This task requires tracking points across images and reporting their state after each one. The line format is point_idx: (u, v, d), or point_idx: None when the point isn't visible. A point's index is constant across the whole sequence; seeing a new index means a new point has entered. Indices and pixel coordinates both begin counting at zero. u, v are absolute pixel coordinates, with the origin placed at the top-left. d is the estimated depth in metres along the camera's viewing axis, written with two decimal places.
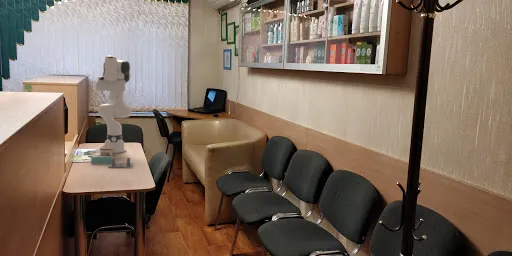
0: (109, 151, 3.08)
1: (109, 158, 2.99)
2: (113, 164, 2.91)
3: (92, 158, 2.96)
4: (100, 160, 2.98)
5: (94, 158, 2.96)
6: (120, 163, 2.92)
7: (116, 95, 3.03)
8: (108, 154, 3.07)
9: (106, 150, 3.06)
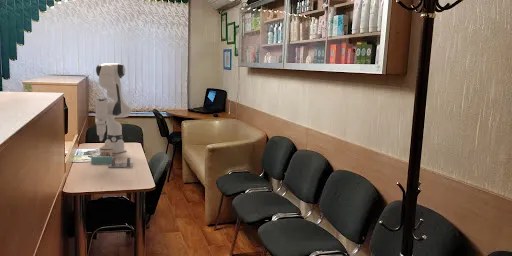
0: (109, 151, 3.08)
1: (109, 158, 2.99)
2: (113, 164, 2.91)
3: (92, 158, 2.96)
4: (100, 160, 2.98)
5: (94, 158, 2.96)
6: (120, 163, 2.92)
7: (103, 136, 3.00)
8: (108, 154, 3.07)
9: (106, 150, 3.06)
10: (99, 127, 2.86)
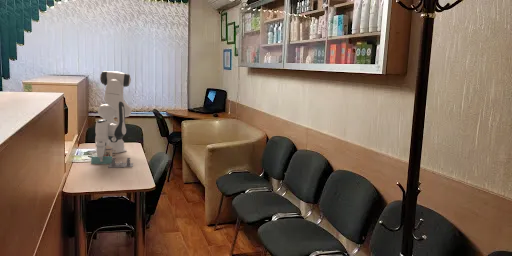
0: (109, 151, 3.08)
1: (109, 158, 2.99)
2: (113, 164, 2.91)
3: (92, 158, 2.96)
4: None
5: (94, 158, 2.96)
6: (120, 163, 2.92)
7: None
8: (108, 154, 3.07)
9: (106, 150, 3.06)
10: (99, 149, 2.88)
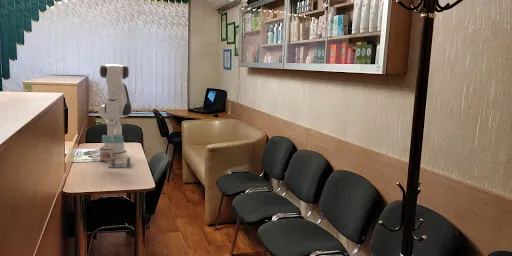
0: (109, 151, 3.08)
1: (120, 137, 2.93)
2: (113, 164, 2.91)
3: (103, 137, 2.90)
4: None
5: (105, 137, 2.90)
6: (120, 163, 2.92)
7: None
8: (108, 154, 3.07)
9: (106, 150, 3.06)
10: (110, 128, 2.82)
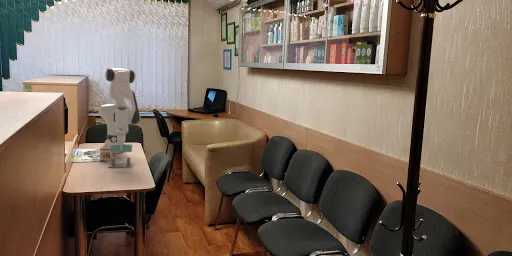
0: (109, 151, 3.08)
1: (129, 146, 2.92)
2: (113, 164, 2.91)
3: (112, 146, 2.89)
4: None
5: (114, 146, 2.89)
6: (120, 163, 2.92)
7: None
8: (108, 154, 3.07)
9: (106, 150, 3.06)
10: (119, 137, 2.81)
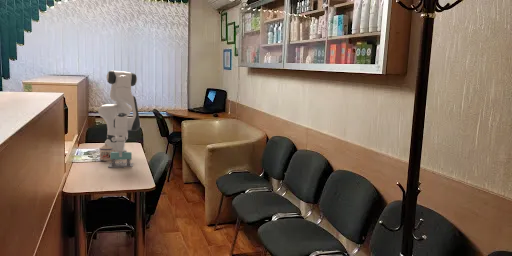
0: (109, 151, 3.08)
1: (129, 154, 2.93)
2: (113, 164, 2.91)
3: (111, 154, 2.90)
4: None
5: (113, 154, 2.90)
6: (120, 163, 2.92)
7: None
8: (108, 154, 3.07)
9: (106, 150, 3.06)
10: (119, 144, 2.82)
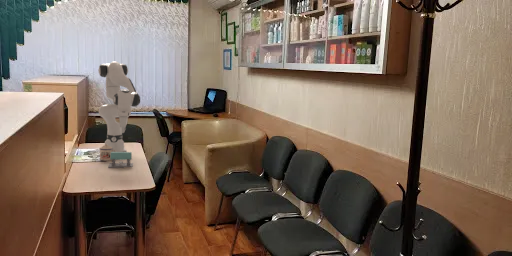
0: (109, 151, 3.08)
1: (129, 154, 2.93)
2: (113, 164, 2.91)
3: (111, 154, 2.90)
4: (120, 156, 2.92)
5: (113, 154, 2.90)
6: (120, 163, 2.92)
7: (125, 128, 3.00)
8: (108, 154, 3.07)
9: (106, 150, 3.06)
10: (122, 119, 2.85)
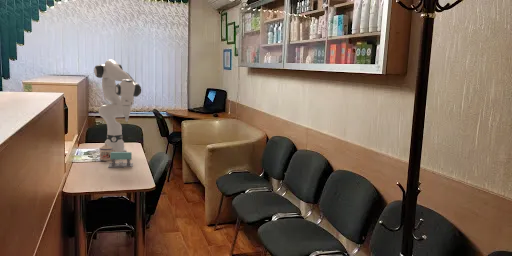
0: (109, 151, 3.08)
1: (129, 154, 2.93)
2: (113, 164, 2.91)
3: (111, 154, 2.90)
4: (120, 156, 2.92)
5: (113, 154, 2.90)
6: (120, 163, 2.92)
7: (128, 118, 3.06)
8: (108, 154, 3.07)
9: (106, 150, 3.06)
10: (125, 108, 2.91)
